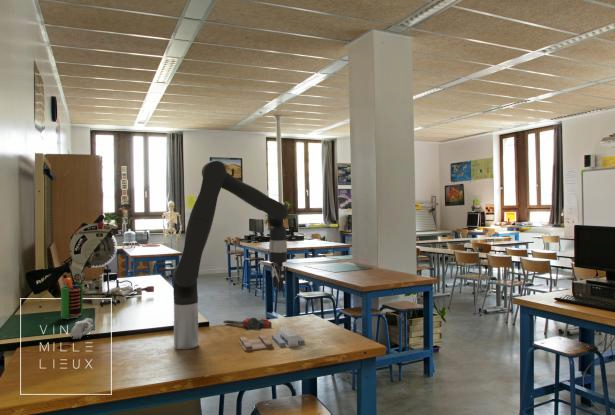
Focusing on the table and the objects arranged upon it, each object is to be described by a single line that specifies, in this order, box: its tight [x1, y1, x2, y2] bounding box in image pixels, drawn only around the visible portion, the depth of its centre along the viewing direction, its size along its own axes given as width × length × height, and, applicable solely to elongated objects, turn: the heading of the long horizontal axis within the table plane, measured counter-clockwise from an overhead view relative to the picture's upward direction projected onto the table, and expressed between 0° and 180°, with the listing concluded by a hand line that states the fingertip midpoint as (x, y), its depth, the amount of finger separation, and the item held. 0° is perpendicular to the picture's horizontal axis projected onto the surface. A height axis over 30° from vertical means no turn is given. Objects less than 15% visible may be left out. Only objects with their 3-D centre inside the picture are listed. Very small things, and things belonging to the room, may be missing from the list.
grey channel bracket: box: [270, 332, 306, 348], centre depth 179 cm, size 12×11×3 cm
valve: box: [223, 317, 272, 331], centre depth 208 cm, size 6×26×15 cm
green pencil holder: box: [60, 277, 84, 318], centre depth 227 cm, size 10×9×20 cm
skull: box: [69, 317, 94, 340], centre depth 194 cm, size 8×9×12 cm
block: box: [277, 325, 299, 348], centre depth 179 cm, size 14×4×4 cm, turn 19°
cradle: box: [238, 334, 274, 353], centre depth 175 cm, size 13×11×3 cm
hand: (278, 288), depth 192 cm, fingers open, 8 cm apart
